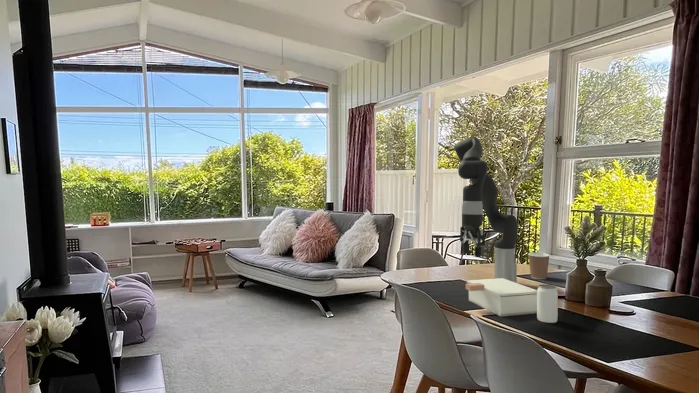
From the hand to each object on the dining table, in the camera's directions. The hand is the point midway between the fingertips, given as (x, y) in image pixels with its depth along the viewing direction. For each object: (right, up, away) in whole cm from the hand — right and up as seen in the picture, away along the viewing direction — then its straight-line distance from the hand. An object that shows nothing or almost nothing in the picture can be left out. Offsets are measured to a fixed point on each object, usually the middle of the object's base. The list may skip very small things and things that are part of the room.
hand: (471, 255), depth 160 cm
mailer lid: (+9, -13, +2) cm, 16 cm away
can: (+22, -21, -14) cm, 34 cm away
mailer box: (+13, -20, +3) cm, 24 cm away
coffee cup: (+50, -19, +53) cm, 75 cm away
